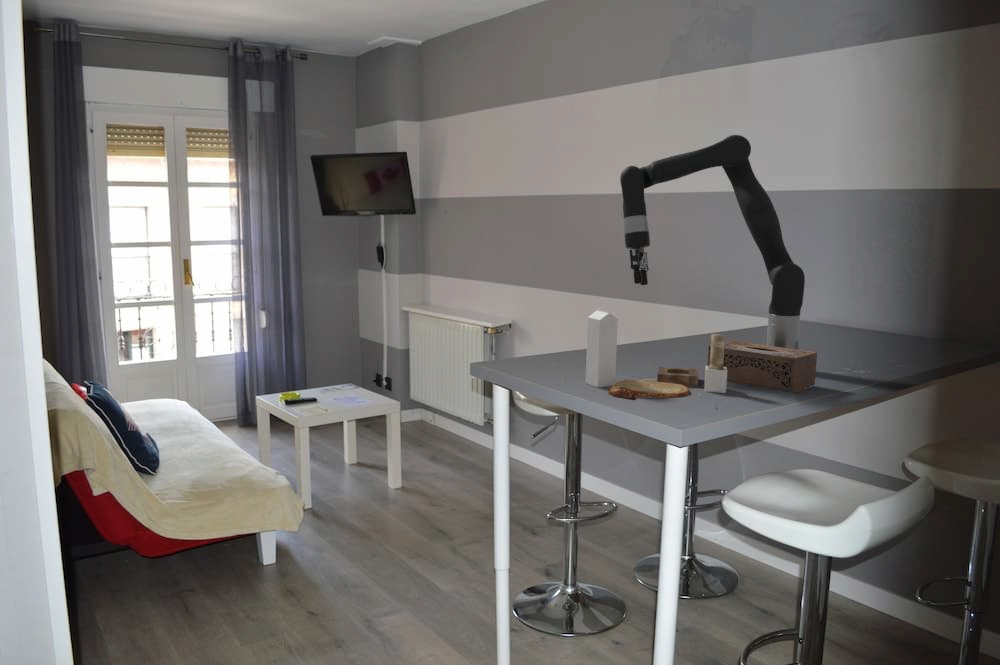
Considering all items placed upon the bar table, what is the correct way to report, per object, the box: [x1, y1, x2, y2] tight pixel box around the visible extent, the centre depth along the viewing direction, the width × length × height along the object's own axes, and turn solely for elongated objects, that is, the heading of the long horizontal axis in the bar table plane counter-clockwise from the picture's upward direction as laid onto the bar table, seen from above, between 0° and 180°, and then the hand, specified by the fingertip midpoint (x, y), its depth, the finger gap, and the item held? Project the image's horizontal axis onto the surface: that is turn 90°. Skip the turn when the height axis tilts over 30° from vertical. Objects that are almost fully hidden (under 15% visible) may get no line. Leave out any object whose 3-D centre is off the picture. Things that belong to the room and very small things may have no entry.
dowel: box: [710, 333, 726, 370], centre depth 214 cm, size 4×4×15 cm
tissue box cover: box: [707, 340, 818, 395], centre depth 228 cm, size 26×14×10 cm, turn 46°
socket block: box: [656, 366, 699, 388], centre depth 225 cm, size 11×11×4 cm
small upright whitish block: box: [704, 365, 728, 394], centre depth 215 cm, size 6×6×7 cm
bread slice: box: [607, 378, 691, 400], centre depth 211 cm, size 18×18×4 cm
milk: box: [585, 305, 618, 388], centre depth 220 cm, size 6×6×22 cm
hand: (641, 284), depth 245 cm, fingers open, 8 cm apart
